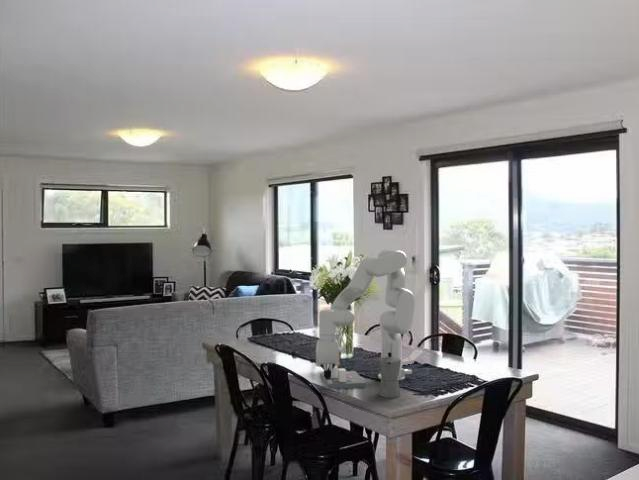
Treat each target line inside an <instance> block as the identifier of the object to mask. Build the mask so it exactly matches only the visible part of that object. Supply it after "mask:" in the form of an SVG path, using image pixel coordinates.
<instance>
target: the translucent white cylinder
mask: <svg viewBox="0 0 639 480" xmlns="http://www.w3.org/2000/svg"><path fill="white" fill-rule="evenodd" d="M423 352H424V350H419V349H414V350H413V351H412V352H411V353H410V354H409V355H408V356H407V357H402V367H404V366H403V365H406V366H409V365H408V364H410V365H413V364H415V363H414V362H415V361H416V360H417V359H418V358H419V356H421V355H422V354H423ZM412 363H413V364H412Z"/></svg>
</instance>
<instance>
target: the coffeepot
mask: <svg viewBox="0 0 639 480" xmlns="http://www.w3.org/2000/svg"><path fill="white" fill-rule="evenodd" d="M391 354H392V353H390V352H389V353H388V357H383V358H381V357H380V358H378V365H379V372H380V373H379V374H381V375H382V379H380V385H379V388H378V395H379V397H382V398H387V399H388V398H389V399H390V398H391V399H394V398H398V397H400V396H401V395H402V393H401V388H400V384H399V383H400V382H399V381H398V375H399V370H400V363H401V360H400V359H399V358H395V357H392V355H391Z"/></svg>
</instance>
